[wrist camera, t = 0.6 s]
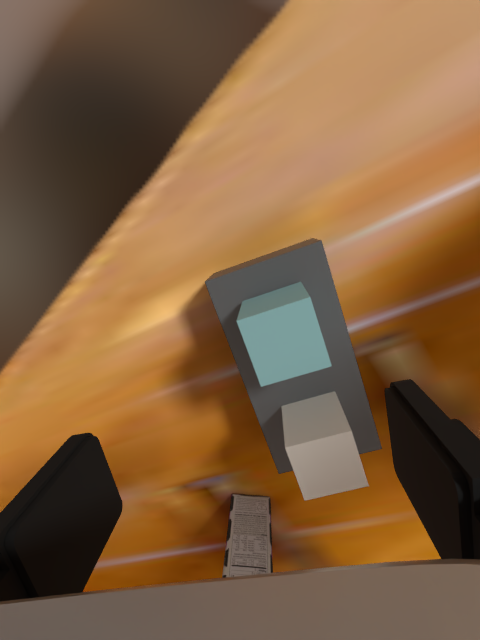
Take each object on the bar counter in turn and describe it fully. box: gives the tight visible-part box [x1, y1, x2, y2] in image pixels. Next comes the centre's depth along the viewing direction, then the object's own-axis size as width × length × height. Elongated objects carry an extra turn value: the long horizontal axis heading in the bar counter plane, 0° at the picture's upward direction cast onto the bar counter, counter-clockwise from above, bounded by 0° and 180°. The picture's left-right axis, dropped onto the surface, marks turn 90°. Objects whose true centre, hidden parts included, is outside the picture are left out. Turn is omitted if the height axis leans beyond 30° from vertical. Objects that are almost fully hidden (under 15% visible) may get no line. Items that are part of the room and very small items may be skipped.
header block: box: [205, 238, 382, 500], centre depth 29 cm, size 10×20×11 cm, turn 20°
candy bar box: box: [222, 494, 273, 578], centre depth 33 cm, size 11×5×16 cm, turn 179°
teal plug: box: [237, 282, 332, 387], centre depth 28 cm, size 5×5×12 cm
